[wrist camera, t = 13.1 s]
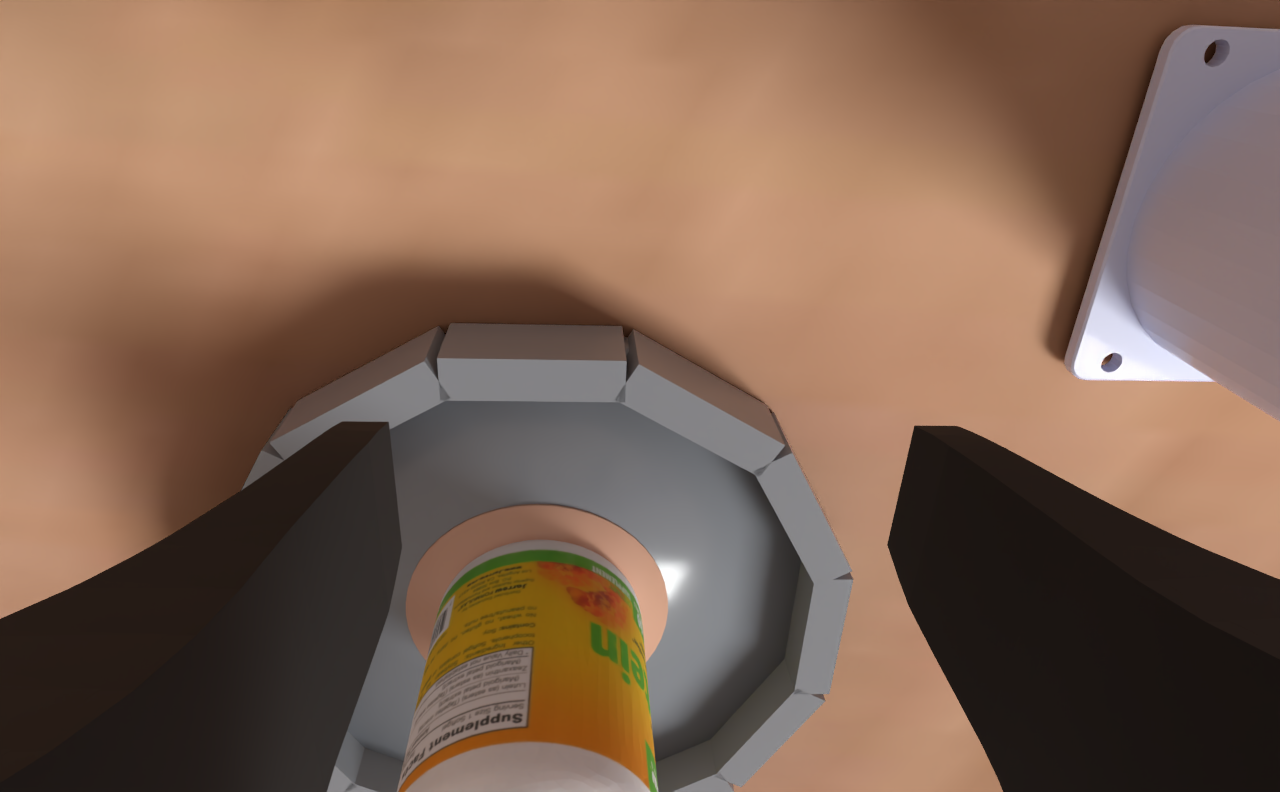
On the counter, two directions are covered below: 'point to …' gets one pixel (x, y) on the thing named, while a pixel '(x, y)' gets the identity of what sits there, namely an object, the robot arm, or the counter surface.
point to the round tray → (599, 528)
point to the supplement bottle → (534, 679)
